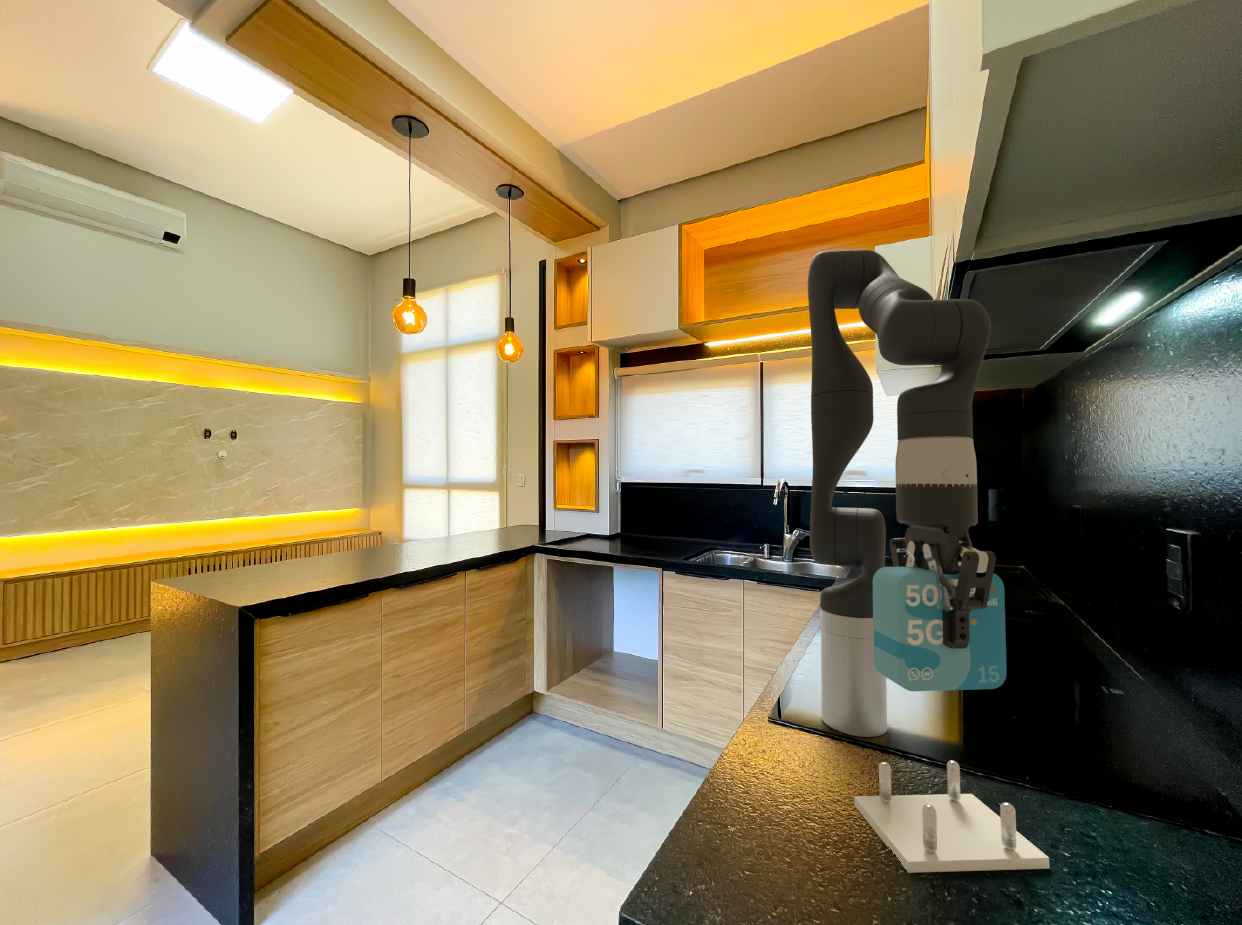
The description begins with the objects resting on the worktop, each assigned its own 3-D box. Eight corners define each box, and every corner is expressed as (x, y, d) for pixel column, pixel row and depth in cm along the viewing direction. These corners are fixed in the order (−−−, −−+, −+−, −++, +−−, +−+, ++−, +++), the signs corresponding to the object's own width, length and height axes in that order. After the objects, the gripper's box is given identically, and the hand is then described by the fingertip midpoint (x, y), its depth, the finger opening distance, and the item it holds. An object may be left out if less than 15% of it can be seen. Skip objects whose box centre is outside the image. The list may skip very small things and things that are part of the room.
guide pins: (877, 799, 57) (876, 759, 57) (955, 797, 57) (954, 758, 58) (928, 856, 48) (927, 809, 48) (1019, 853, 49) (1018, 807, 49)
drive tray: (854, 805, 57) (854, 796, 58) (971, 802, 58) (971, 793, 58) (908, 872, 47) (907, 861, 48) (1049, 868, 48) (1049, 857, 48)
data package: (899, 692, 51) (897, 573, 51) (872, 675, 55) (871, 566, 56) (1008, 689, 52) (1005, 572, 52) (973, 673, 56) (971, 565, 57)
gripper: (1023, 481, 48) (1028, 663, 47) (925, 482, 62) (928, 621, 61) (947, 480, 47) (951, 663, 47) (866, 481, 62) (868, 621, 61)
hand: (938, 638), depth 54 cm, fingers closed on data package, 4 cm apart
